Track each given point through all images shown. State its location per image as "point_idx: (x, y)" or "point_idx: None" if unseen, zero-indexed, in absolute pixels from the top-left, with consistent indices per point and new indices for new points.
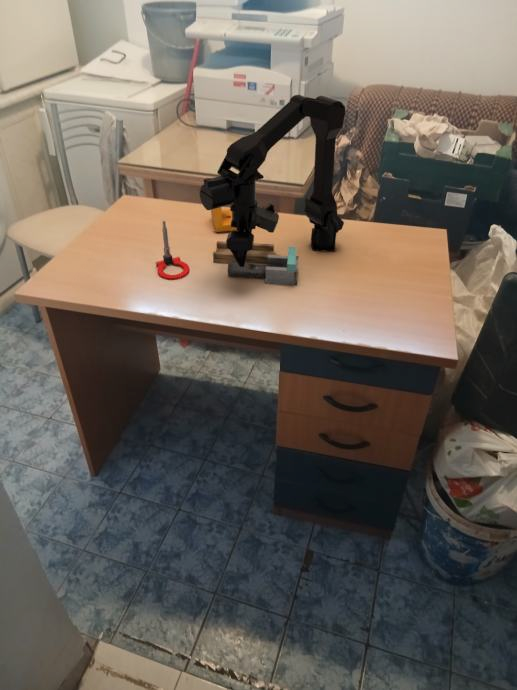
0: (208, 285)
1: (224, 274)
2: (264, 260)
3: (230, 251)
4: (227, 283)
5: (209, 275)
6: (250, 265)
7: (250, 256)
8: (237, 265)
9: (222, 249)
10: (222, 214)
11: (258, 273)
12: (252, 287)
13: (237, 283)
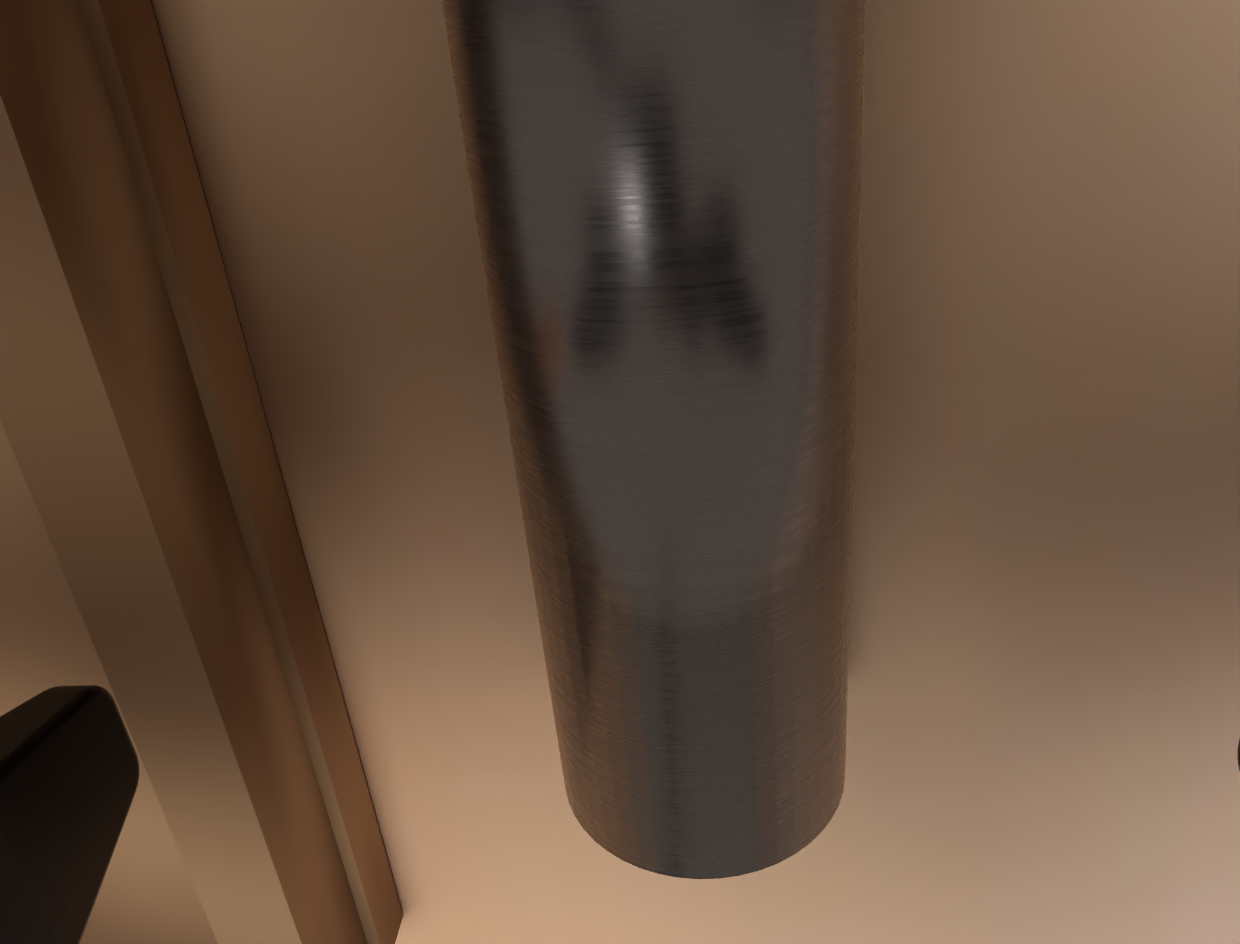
0: (1092, 890)
1: None
2: (66, 54)
3: None
4: (1030, 659)
5: (786, 913)
6: (733, 412)
7: (141, 461)
8: (764, 702)
9: None
10: None
11: (857, 107)
12: (1216, 165)
13: (1030, 500)
